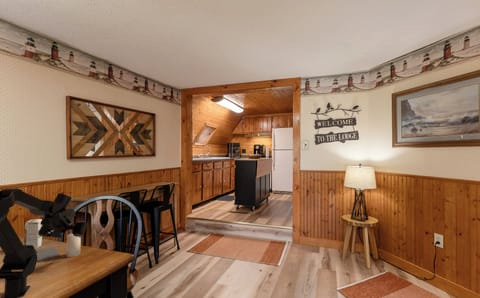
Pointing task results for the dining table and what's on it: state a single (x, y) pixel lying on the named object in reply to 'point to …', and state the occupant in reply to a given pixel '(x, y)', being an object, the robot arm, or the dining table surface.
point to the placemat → (47, 253)
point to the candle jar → (73, 245)
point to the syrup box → (33, 233)
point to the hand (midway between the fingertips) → (71, 236)
